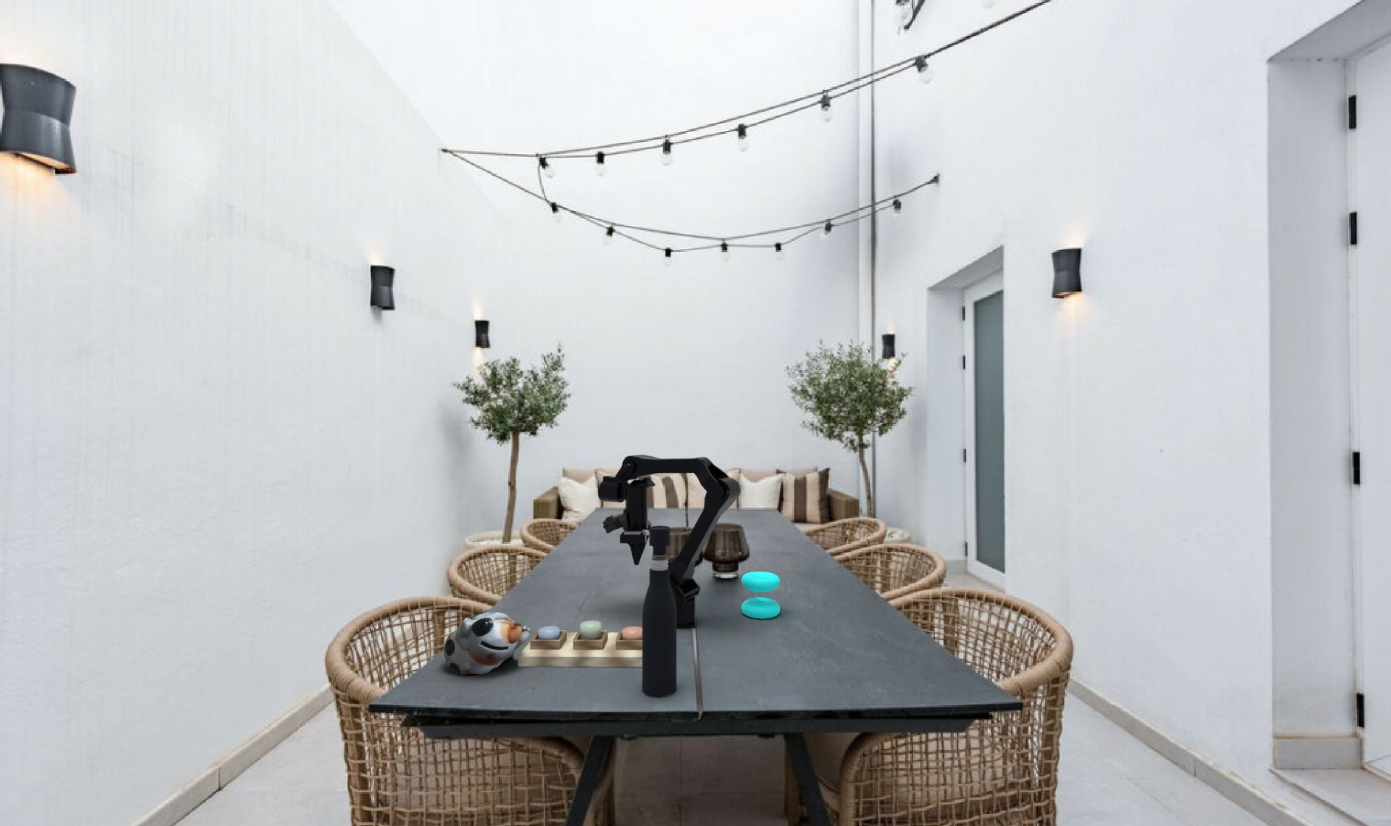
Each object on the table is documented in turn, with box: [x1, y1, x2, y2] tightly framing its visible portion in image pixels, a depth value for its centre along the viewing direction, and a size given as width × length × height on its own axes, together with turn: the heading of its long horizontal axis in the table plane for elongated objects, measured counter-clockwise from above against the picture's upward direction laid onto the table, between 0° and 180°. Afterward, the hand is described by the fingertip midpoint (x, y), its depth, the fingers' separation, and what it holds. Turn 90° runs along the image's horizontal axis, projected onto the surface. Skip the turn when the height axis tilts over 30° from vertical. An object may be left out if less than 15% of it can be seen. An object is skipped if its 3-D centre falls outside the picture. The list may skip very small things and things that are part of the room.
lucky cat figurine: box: [443, 611, 531, 676], centre depth 122 cm, size 15×12×14 cm
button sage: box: [579, 619, 602, 639], centre depth 128 cm, size 4×4×2 cm
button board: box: [517, 629, 642, 668], centre depth 128 cm, size 27×14×4 cm, turn 89°
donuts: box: [740, 571, 781, 620], centre depth 155 cm, size 10×10×10 cm
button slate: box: [537, 625, 561, 640], centre depth 128 cm, size 4×4×2 cm
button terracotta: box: [621, 625, 642, 640], centre depth 128 cm, size 4×4×2 cm
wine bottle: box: [641, 525, 678, 698], centre depth 111 cm, size 6×6×30 cm
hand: (636, 564), depth 153 cm, fingers closed
